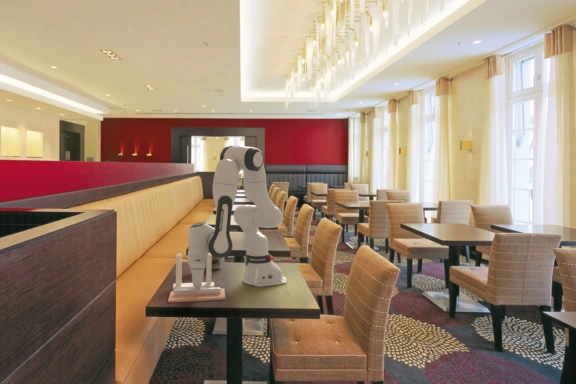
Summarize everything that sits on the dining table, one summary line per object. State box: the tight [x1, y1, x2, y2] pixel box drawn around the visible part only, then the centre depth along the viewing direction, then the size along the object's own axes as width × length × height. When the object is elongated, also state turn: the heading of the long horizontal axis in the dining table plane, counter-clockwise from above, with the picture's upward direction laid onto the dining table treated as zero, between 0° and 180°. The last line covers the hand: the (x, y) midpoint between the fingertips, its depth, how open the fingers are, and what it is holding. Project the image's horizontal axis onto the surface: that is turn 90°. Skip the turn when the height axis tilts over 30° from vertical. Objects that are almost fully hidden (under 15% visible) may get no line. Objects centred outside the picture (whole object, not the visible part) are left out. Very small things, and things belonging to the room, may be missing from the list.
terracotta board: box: [167, 287, 227, 304], centre depth 163 cm, size 24×12×1 cm, turn 103°
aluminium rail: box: [173, 286, 222, 296], centre depth 162 cm, size 20×2×2 cm, turn 103°
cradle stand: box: [172, 253, 215, 291], centre depth 174 cm, size 19×6×16 cm, turn 103°
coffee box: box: [208, 251, 225, 270], centre depth 210 cm, size 9×6×16 cm
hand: (197, 290), depth 162 cm, fingers open, 3 cm apart
